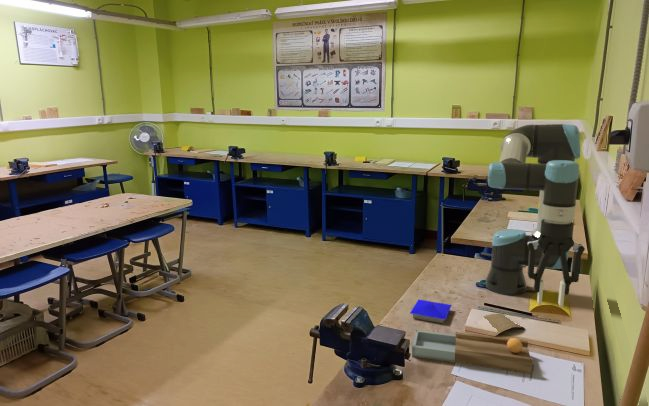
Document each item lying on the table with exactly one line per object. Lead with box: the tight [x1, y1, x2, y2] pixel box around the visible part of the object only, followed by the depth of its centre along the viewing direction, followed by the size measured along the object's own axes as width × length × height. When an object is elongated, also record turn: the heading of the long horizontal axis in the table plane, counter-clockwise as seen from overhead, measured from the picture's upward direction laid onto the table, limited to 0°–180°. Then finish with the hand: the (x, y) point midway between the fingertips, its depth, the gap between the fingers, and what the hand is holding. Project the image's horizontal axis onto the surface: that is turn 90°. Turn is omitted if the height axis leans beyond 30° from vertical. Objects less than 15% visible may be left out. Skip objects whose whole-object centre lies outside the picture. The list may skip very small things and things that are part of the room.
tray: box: [411, 329, 456, 364], centre depth 132 cm, size 10×12×3 cm
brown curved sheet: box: [483, 312, 522, 337], centre depth 146 cm, size 14×10×3 cm
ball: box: [507, 337, 522, 353], centre depth 125 cm, size 4×4×4 cm
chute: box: [455, 332, 533, 374], centre depth 127 cm, size 10×20×4 cm, turn 72°
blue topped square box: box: [409, 299, 453, 324], centre depth 155 cm, size 12×12×5 cm
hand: (549, 303), depth 119 cm, fingers open, 4 cm apart
